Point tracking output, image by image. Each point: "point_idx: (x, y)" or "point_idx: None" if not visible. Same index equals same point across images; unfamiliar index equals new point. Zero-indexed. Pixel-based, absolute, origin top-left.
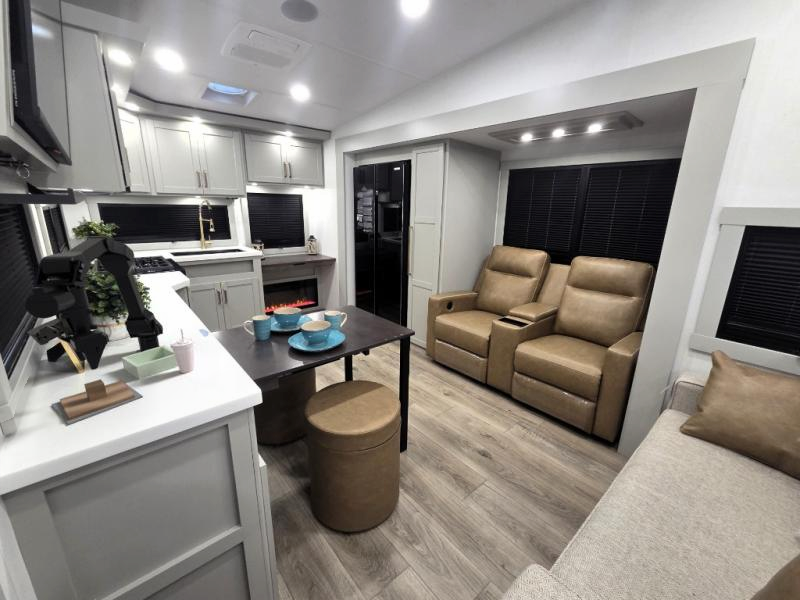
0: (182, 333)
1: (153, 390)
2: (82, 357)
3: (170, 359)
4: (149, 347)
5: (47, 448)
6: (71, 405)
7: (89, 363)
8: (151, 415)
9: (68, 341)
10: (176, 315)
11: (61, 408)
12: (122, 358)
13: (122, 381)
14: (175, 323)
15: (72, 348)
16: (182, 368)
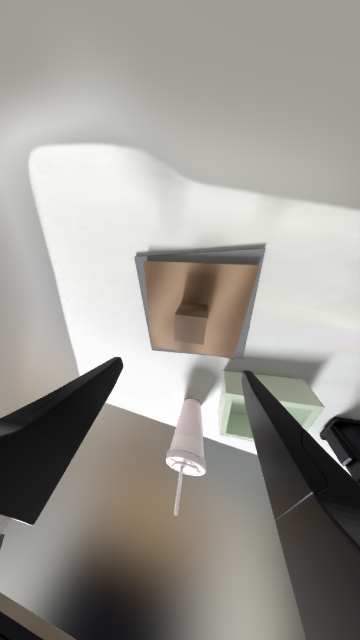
0: (176, 496)
1: (164, 362)
2: (246, 387)
3: (220, 419)
4: (338, 441)
5: (75, 215)
6: (196, 275)
7: (86, 374)
8: (93, 333)
9: (355, 561)
10: None
11: (215, 260)
12: (317, 405)
13: (238, 357)
14: None
15: (303, 438)
16: (185, 406)
